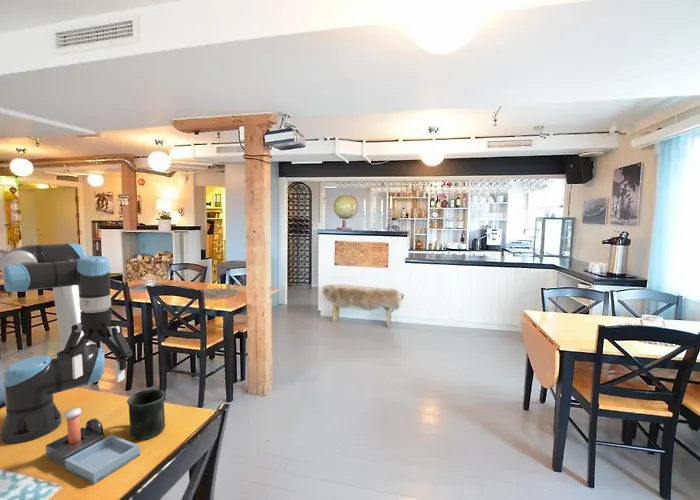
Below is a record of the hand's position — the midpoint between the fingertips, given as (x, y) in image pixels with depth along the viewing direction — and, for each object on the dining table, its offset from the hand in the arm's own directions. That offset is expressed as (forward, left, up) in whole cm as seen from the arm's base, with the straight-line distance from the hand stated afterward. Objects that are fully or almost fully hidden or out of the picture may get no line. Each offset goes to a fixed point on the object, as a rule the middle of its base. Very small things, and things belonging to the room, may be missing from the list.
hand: (99, 378), depth 108 cm
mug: (+2, +13, -23) cm, 26 cm away
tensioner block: (-6, -4, -23) cm, 24 cm away
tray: (+6, -3, -23) cm, 24 cm away
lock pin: (-6, -4, -23) cm, 24 cm away
